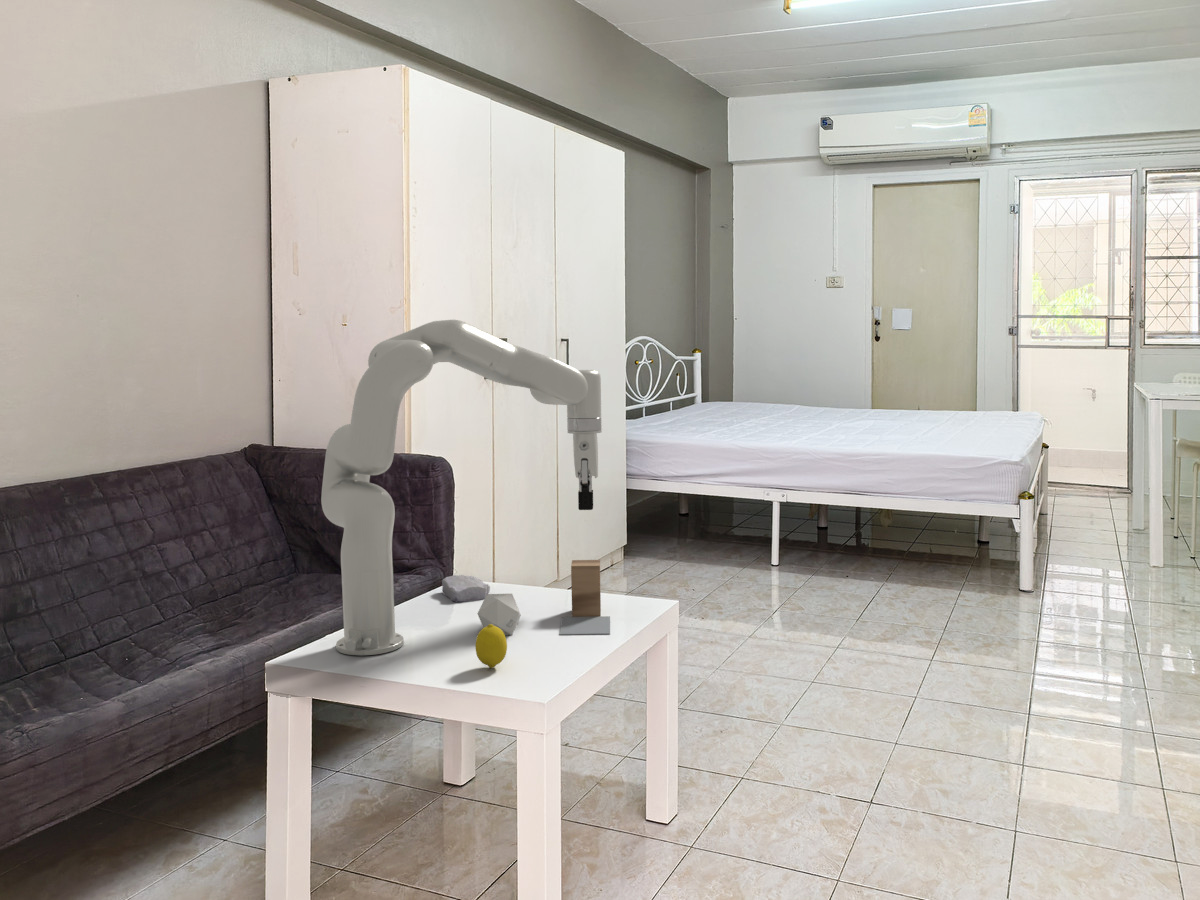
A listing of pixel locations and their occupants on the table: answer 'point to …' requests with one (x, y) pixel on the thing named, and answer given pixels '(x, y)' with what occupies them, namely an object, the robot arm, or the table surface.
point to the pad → (585, 625)
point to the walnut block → (585, 588)
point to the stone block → (464, 588)
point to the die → (500, 612)
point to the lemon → (491, 645)
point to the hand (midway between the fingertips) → (585, 508)
